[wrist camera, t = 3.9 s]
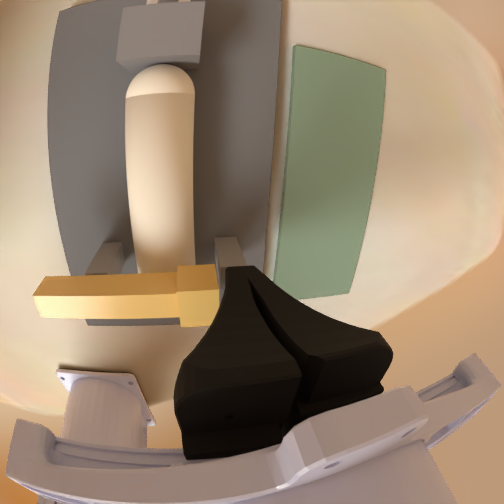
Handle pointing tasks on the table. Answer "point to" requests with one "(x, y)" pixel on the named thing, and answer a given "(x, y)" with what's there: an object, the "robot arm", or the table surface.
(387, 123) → the table surface
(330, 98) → the felt pad
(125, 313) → the yellow bar
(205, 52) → the mat
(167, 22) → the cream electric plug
